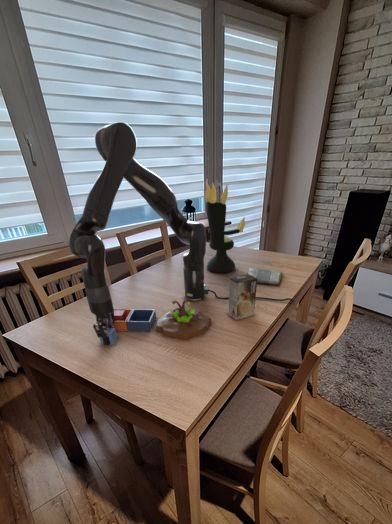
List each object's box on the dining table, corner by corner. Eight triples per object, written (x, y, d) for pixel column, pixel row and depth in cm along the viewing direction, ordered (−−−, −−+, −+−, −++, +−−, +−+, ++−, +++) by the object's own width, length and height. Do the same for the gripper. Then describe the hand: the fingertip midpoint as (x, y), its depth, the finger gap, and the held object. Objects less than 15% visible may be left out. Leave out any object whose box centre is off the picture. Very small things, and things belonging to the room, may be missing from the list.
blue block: (117, 338, 103) (115, 327, 100) (113, 344, 99) (111, 334, 96) (105, 337, 103) (103, 327, 100) (101, 344, 99) (99, 334, 97)
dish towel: (279, 286, 140) (280, 280, 138) (244, 282, 145) (244, 276, 143) (282, 274, 155) (283, 268, 153) (250, 271, 159) (250, 265, 158)
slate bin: (156, 318, 115) (155, 309, 113) (150, 331, 106) (149, 322, 104) (135, 317, 116) (133, 309, 113) (128, 330, 107) (126, 321, 105)
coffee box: (245, 309, 120) (248, 273, 111) (254, 315, 115) (258, 278, 106) (227, 314, 116) (229, 277, 107) (236, 320, 112) (238, 282, 103)
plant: (191, 344, 98) (190, 316, 92) (148, 330, 107) (145, 304, 100) (217, 320, 112) (218, 295, 105) (178, 310, 121) (176, 285, 114)
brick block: (126, 320, 113) (124, 310, 110) (123, 325, 109) (121, 315, 107) (116, 319, 113) (114, 310, 111) (112, 325, 110) (110, 315, 107)
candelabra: (242, 267, 166) (249, 179, 140) (225, 278, 150) (229, 183, 124) (215, 262, 174) (216, 179, 148) (196, 273, 159) (194, 182, 133)
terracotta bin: (134, 317, 116) (133, 309, 113) (127, 330, 107) (125, 321, 105) (113, 317, 116) (111, 308, 114) (105, 330, 108) (102, 321, 105)
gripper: (102, 307, 85) (113, 352, 95) (116, 289, 97) (125, 330, 106) (79, 306, 86) (92, 351, 95) (96, 288, 97) (106, 330, 107)
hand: (109, 340), depth 101 cm, fingers closed on blue block, 4 cm apart
